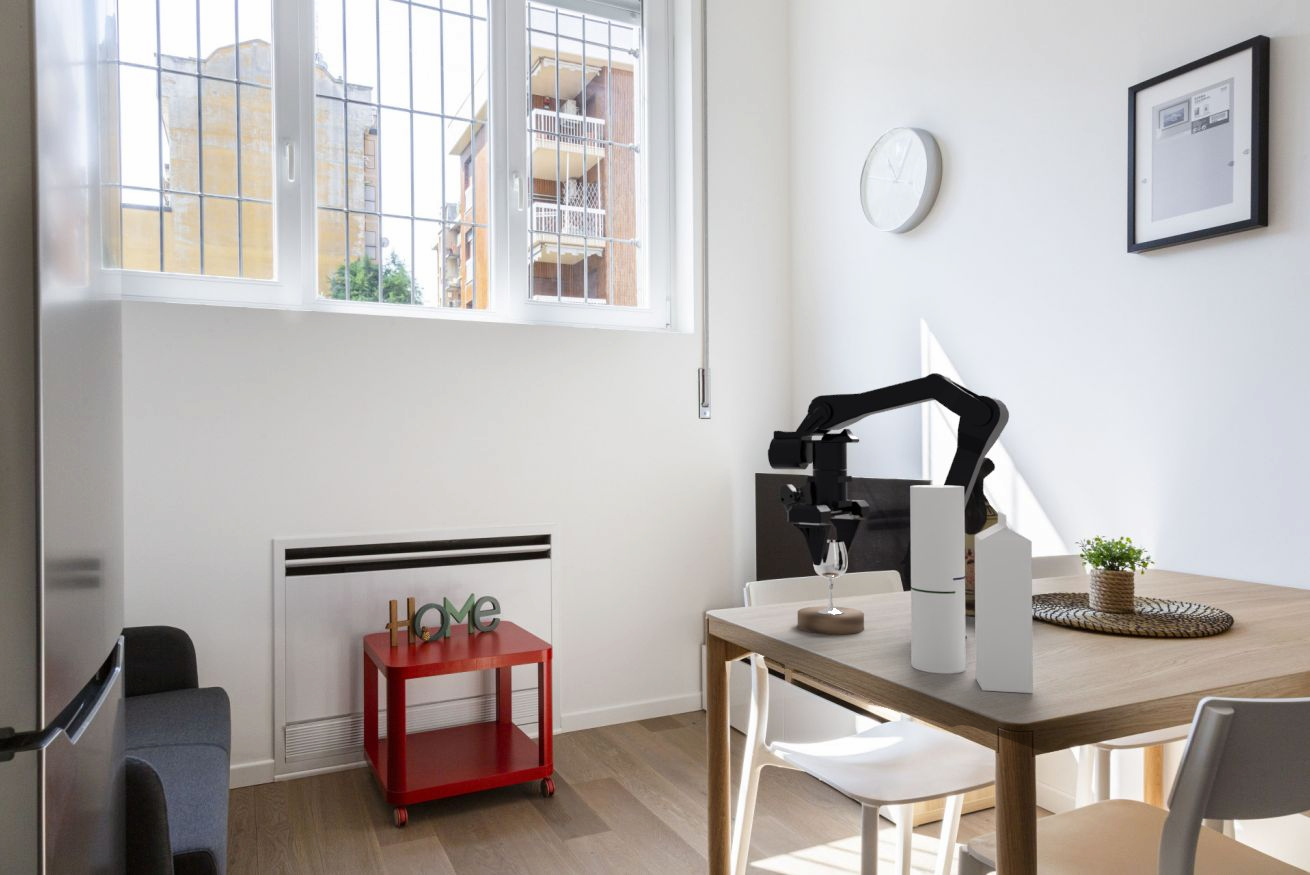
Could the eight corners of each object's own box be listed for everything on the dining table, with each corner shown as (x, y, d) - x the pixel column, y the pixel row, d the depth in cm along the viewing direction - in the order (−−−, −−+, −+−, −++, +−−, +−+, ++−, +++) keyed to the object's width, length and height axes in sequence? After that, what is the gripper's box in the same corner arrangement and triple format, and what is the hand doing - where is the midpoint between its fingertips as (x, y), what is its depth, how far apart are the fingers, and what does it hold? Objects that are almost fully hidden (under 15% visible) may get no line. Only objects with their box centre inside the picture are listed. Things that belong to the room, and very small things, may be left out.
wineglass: (851, 615, 142) (850, 542, 142) (816, 615, 142) (815, 543, 142) (844, 609, 147) (843, 539, 148) (811, 609, 147) (810, 539, 148)
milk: (1023, 681, 111) (1023, 511, 111) (1033, 694, 105) (1033, 515, 106) (974, 678, 113) (974, 510, 113) (980, 691, 107) (980, 514, 107)
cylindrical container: (977, 669, 117) (975, 486, 117) (940, 676, 113) (939, 488, 114) (936, 658, 123) (935, 484, 124) (900, 664, 120) (899, 486, 120)
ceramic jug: (954, 601, 168) (952, 449, 168) (1036, 611, 158) (1034, 449, 158) (917, 614, 155) (916, 449, 155) (1004, 626, 145) (1003, 449, 145)
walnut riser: (875, 626, 145) (875, 611, 145) (845, 637, 137) (845, 621, 137) (817, 618, 152) (817, 604, 152) (785, 628, 144) (785, 613, 144)
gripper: (814, 468, 157) (815, 553, 157) (759, 470, 143) (760, 564, 142) (870, 469, 150) (871, 558, 150) (819, 471, 136) (819, 570, 135)
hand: (830, 562), depth 145 cm, fingers open, 9 cm apart
